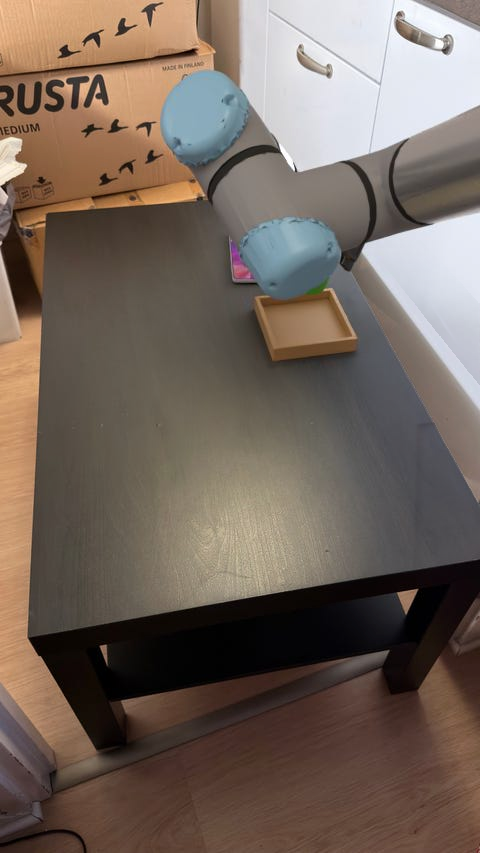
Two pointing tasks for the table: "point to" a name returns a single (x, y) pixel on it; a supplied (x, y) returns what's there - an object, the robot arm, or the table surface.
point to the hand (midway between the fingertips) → (323, 250)
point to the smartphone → (239, 267)
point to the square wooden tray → (305, 326)
